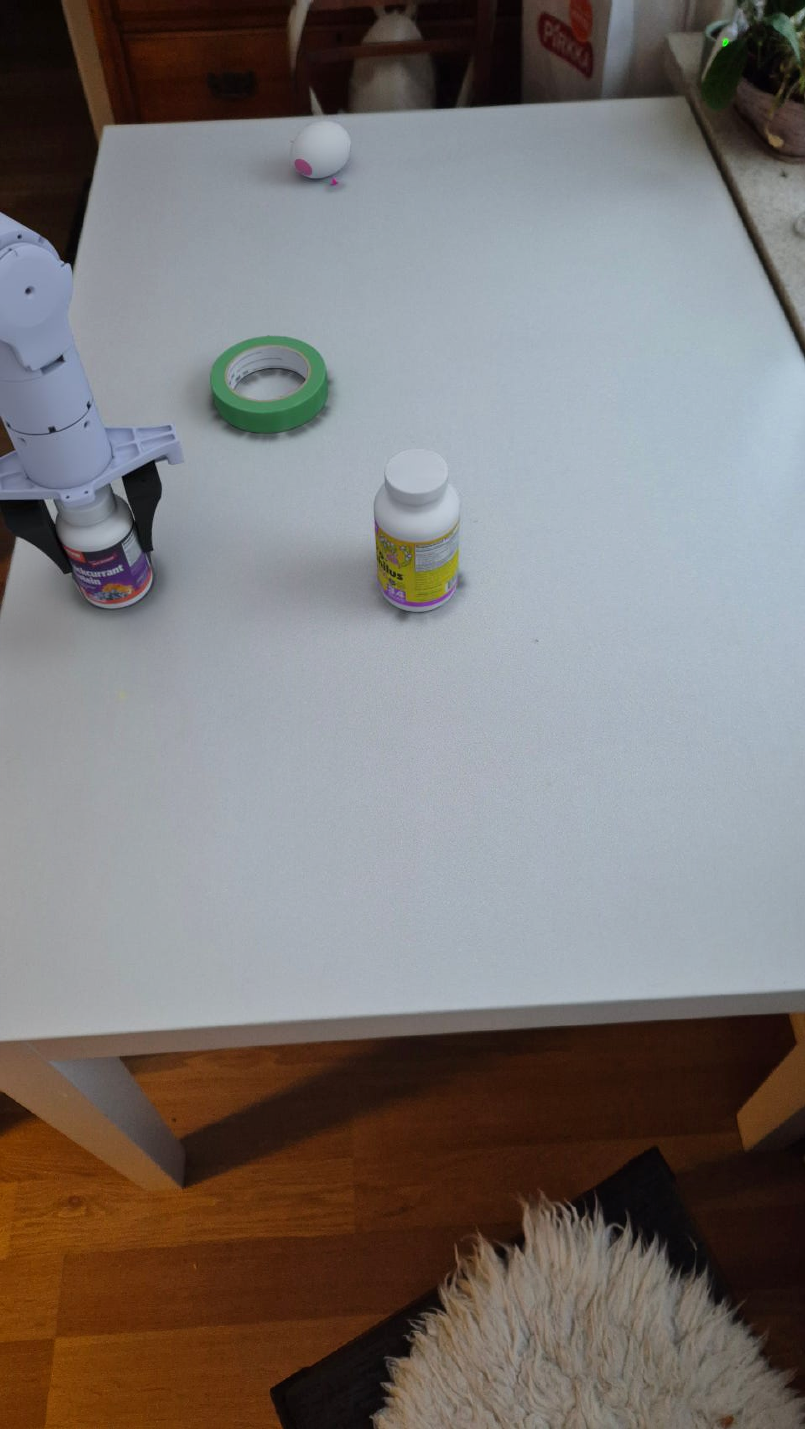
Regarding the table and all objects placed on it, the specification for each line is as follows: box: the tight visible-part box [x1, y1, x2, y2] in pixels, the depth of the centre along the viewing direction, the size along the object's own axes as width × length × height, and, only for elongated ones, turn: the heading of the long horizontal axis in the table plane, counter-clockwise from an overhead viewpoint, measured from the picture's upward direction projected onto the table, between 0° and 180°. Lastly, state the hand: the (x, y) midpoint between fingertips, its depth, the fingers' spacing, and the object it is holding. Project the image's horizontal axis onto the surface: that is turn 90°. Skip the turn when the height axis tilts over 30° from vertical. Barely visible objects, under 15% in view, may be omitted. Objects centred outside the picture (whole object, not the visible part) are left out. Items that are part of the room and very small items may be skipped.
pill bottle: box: [52, 482, 152, 609], centre depth 73 cm, size 5×5×10 cm
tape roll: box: [209, 335, 329, 434], centre depth 97 cm, size 11×11×3 cm
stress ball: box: [289, 120, 352, 186], centre depth 118 cm, size 8×8×7 cm
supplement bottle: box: [373, 448, 461, 613], centre depth 79 cm, size 7×7×13 cm
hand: (106, 553), depth 74 cm, fingers closed on pill bottle, 5 cm apart
